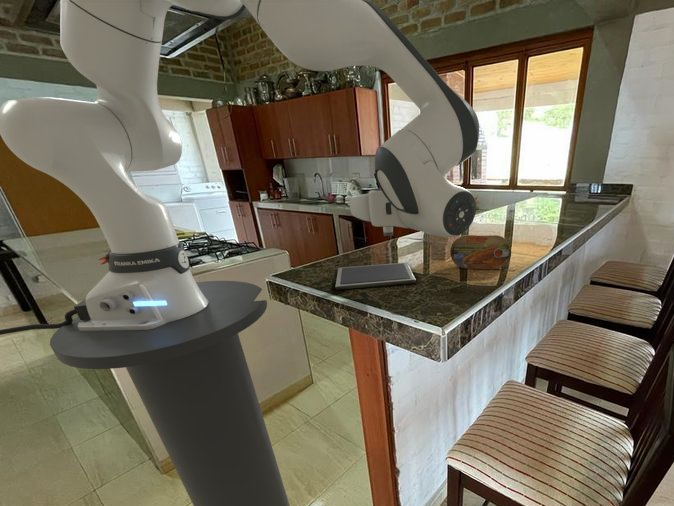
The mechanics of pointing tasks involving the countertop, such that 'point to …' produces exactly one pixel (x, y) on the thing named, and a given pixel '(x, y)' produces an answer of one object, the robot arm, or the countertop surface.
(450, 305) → the countertop surface
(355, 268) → the tablet
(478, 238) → the tin
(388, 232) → the light grey bar
